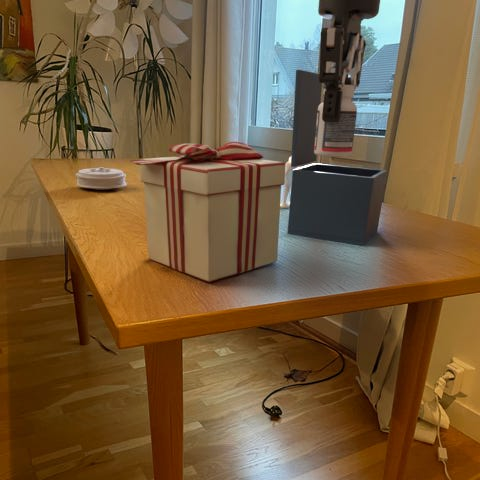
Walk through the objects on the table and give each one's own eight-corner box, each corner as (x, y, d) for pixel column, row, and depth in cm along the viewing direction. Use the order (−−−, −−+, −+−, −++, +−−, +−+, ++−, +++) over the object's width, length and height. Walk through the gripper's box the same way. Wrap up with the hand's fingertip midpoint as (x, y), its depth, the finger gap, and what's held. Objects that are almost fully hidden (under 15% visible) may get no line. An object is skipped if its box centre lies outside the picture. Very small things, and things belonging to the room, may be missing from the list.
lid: (66, 188, 122) (64, 168, 120) (97, 182, 133) (96, 163, 131) (107, 194, 118) (105, 173, 116) (136, 187, 129) (135, 168, 127)
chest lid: (322, 74, 89) (318, 74, 90) (300, 69, 79) (295, 69, 79) (316, 160, 96) (312, 160, 96) (294, 167, 85) (290, 166, 86)
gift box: (199, 238, 85) (199, 135, 78) (283, 262, 74) (293, 145, 67) (121, 258, 73) (113, 138, 66) (208, 290, 62) (210, 151, 55)
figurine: (289, 203, 118) (293, 152, 113) (303, 206, 115) (308, 154, 110) (272, 207, 113) (276, 153, 107) (287, 210, 110) (292, 155, 105)
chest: (377, 231, 95) (387, 170, 90) (363, 246, 85) (373, 178, 80) (308, 221, 101) (314, 163, 96) (287, 233, 91) (292, 169, 86)
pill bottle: (359, 156, 66) (368, 85, 62) (330, 157, 64) (338, 84, 60) (334, 152, 70) (341, 85, 67) (306, 153, 68) (312, 84, 64)
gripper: (371, -48, 51) (351, 124, 58) (393, -18, 63) (374, 121, 70) (304, -42, 53) (292, 121, 61) (337, -15, 65) (324, 119, 72)
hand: (336, 120), depth 65 cm, fingers closed on pill bottle, 5 cm apart
